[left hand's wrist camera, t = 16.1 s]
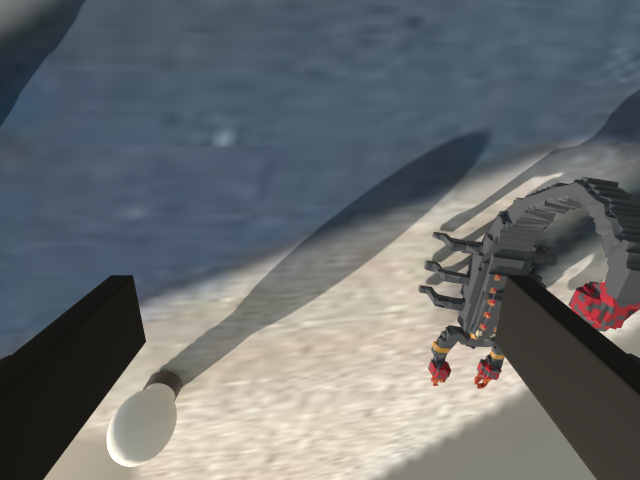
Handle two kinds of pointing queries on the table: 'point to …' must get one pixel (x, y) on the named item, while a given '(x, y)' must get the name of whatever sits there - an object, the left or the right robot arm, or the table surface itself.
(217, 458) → the table surface
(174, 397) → the light bulb
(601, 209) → the toy
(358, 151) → the table surface
